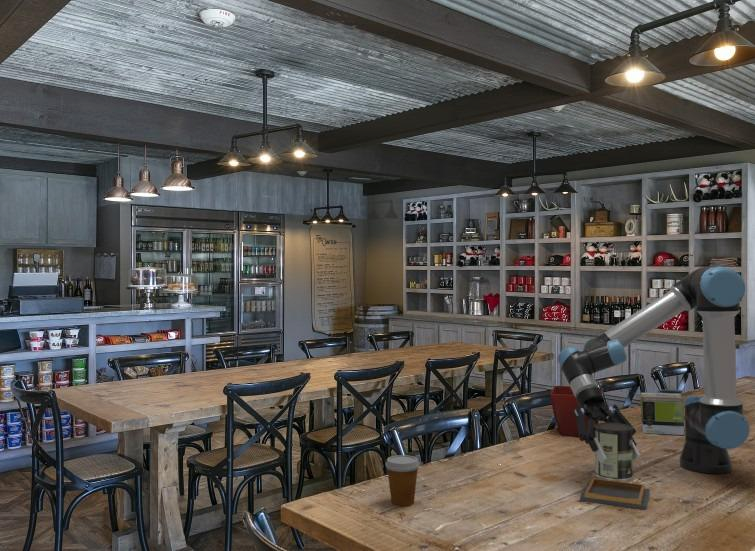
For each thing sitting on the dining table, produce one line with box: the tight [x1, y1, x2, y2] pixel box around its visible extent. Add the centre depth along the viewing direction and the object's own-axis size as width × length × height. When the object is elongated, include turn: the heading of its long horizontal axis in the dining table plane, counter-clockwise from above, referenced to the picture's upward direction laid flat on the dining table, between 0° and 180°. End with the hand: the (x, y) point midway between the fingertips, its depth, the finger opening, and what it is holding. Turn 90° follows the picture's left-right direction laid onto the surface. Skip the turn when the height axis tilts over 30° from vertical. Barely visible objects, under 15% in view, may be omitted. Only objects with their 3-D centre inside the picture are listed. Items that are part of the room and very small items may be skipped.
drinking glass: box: [656, 389, 684, 399], centre depth 280 cm, size 10×10×12 cm
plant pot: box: [549, 385, 604, 437], centre depth 259 cm, size 19×19×17 cm
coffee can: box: [594, 422, 634, 482], centre depth 185 cm, size 10×10×14 cm
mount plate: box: [579, 477, 651, 510], centre depth 185 cm, size 17×15×2 cm
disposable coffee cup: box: [385, 454, 420, 507], centre depth 183 cm, size 10×10×12 cm
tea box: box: [640, 392, 685, 436], centre depth 259 cm, size 15×10×15 cm
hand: (620, 459), depth 183 cm, fingers closed on coffee can, 10 cm apart
